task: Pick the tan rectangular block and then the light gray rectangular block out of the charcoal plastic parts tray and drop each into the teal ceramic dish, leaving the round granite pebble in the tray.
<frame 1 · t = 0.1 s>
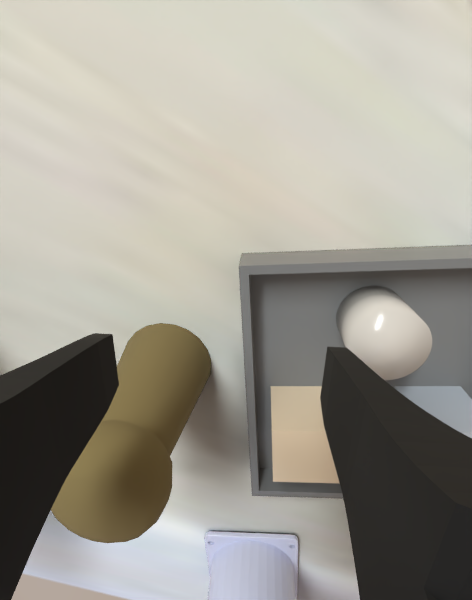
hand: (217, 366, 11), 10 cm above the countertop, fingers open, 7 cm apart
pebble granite: (370, 316, 20), point 1 cm above the countertop, touching tray
light gray rectangular block: (422, 411, 23), point 1 cm above the countertop, touching tray
tray: (361, 374, 23), on the countertop
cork: (168, 361, 24), on the countertop
tan rectangular block: (300, 410, 23), point 1 cm above the countertop, touching tray
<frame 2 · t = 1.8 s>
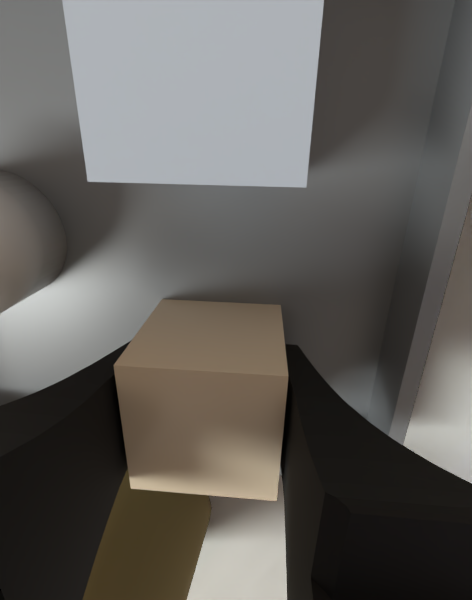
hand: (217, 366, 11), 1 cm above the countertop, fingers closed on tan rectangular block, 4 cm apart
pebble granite: (6, 234, 11), point 1 cm above the countertop, touching tray
light gray rectangular block: (221, 94, 9), point 1 cm above the countertop, touching tray
tray: (148, 236, 11), on the countertop
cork: (150, 499, 17), on the countertop
tan rectangular block: (220, 353, 12), point 1 cm above the countertop, touching gripper, tray
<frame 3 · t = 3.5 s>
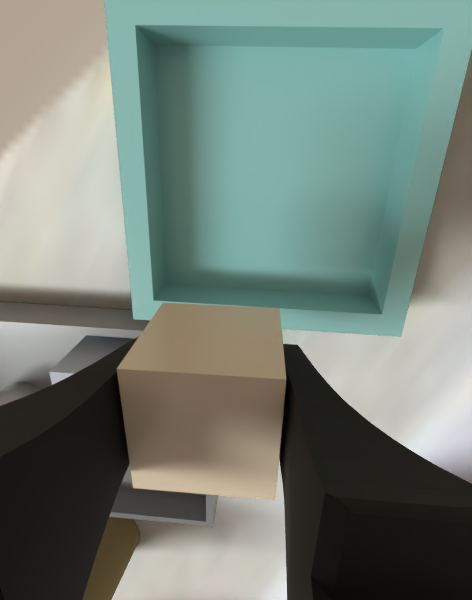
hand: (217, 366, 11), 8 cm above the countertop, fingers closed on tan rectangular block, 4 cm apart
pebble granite: (28, 406, 23), point 1 cm above the countertop, touching tray
light gray rectangular block: (123, 364, 21), point 1 cm above the countertop, touching tray
tray: (96, 406, 24), on the countertop
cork: (105, 527, 29), on the countertop
tan rectangular block: (220, 355, 12), point 7 cm above the countertop, touching gripper
dish: (272, 183, 17), on the countertop
when the fingers open (3 cm above the countertop, at t = 5.1 s): tan rectangular block drops 2 cm, resting on dish.
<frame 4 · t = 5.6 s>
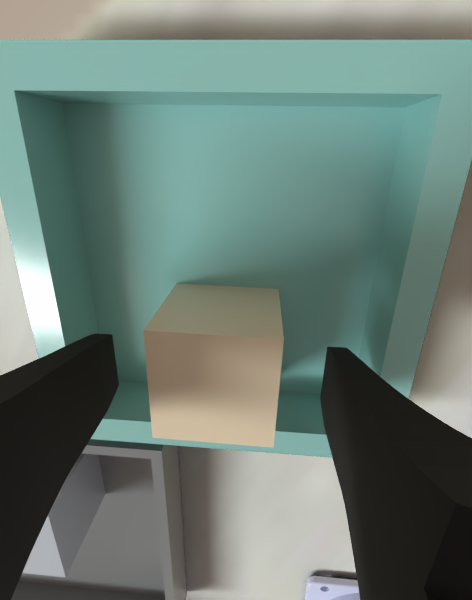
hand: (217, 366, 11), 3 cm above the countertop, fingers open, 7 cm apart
light gray rectangular block: (63, 463, 18), point 1 cm above the countertop, touching tray
tray: (39, 502, 20), on the countertop
tan rectangular block: (226, 331, 14), point 1 cm above the countertop, touching dish
dish: (228, 265, 14), on the countertop
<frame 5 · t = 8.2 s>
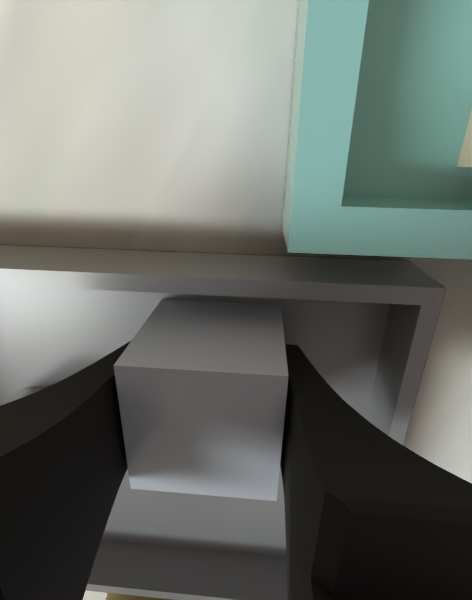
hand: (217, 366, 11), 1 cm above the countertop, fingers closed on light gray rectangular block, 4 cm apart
light gray rectangular block: (220, 353, 12), point 1 cm above the countertop, touching gripper, tray
tray: (163, 424, 14), on the countertop
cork: (161, 595, 20), on the countertop
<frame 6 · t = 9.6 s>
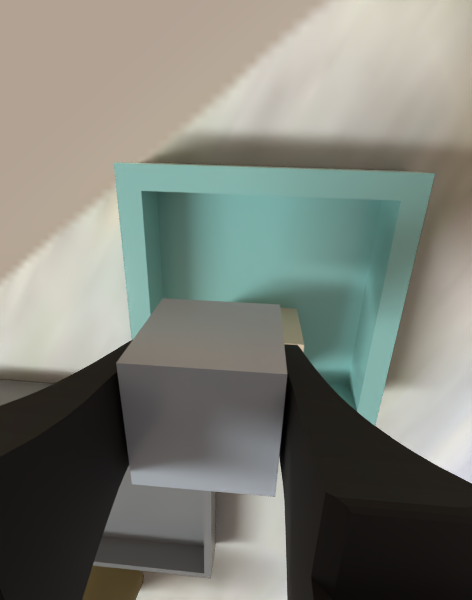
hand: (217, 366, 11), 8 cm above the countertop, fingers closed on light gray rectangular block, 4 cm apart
light gray rectangular block: (220, 352, 12), point 8 cm above the countertop, touching gripper
tray: (104, 468, 26), on the countertop
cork: (111, 570, 31), on the countertop
tan rectangular block: (258, 337, 20), point 1 cm above the countertop, touching dish
dish: (261, 291, 19), on the countertop
when the fingers open (3 cm above the countertop, at t = 11.1 s): light gray rectangular block drops 2 cm, resting on dish.
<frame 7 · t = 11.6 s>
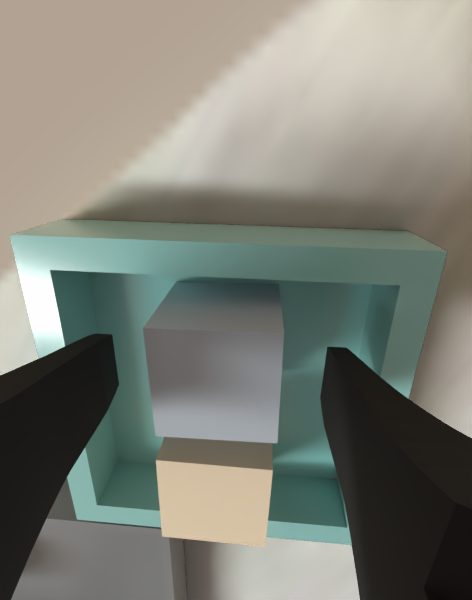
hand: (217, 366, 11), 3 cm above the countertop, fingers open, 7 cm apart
light gray rectangular block: (227, 328, 14), point 1 cm above the countertop, touching dish
tray: (55, 555, 22), on the countertop
tan rectangular block: (225, 425, 16), point 1 cm above the countertop, touching dish
dish: (227, 370, 16), on the countertop
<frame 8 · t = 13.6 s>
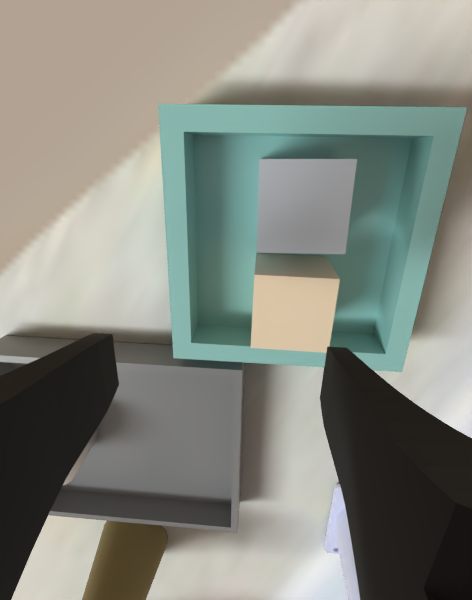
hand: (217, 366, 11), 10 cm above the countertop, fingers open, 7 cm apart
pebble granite: (72, 427, 26), point 1 cm above the countertop, touching tray
light gray rectangular block: (296, 198, 19), point 1 cm above the countertop, touching dish
tray: (132, 426, 27), on the countertop
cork: (136, 532, 32), on the countertop
tan rectangular block: (287, 287, 21), point 1 cm above the countertop, touching dish
dish: (290, 241, 20), on the countertop
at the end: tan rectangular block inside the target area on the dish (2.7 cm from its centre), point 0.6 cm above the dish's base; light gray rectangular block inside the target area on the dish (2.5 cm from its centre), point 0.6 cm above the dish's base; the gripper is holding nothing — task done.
